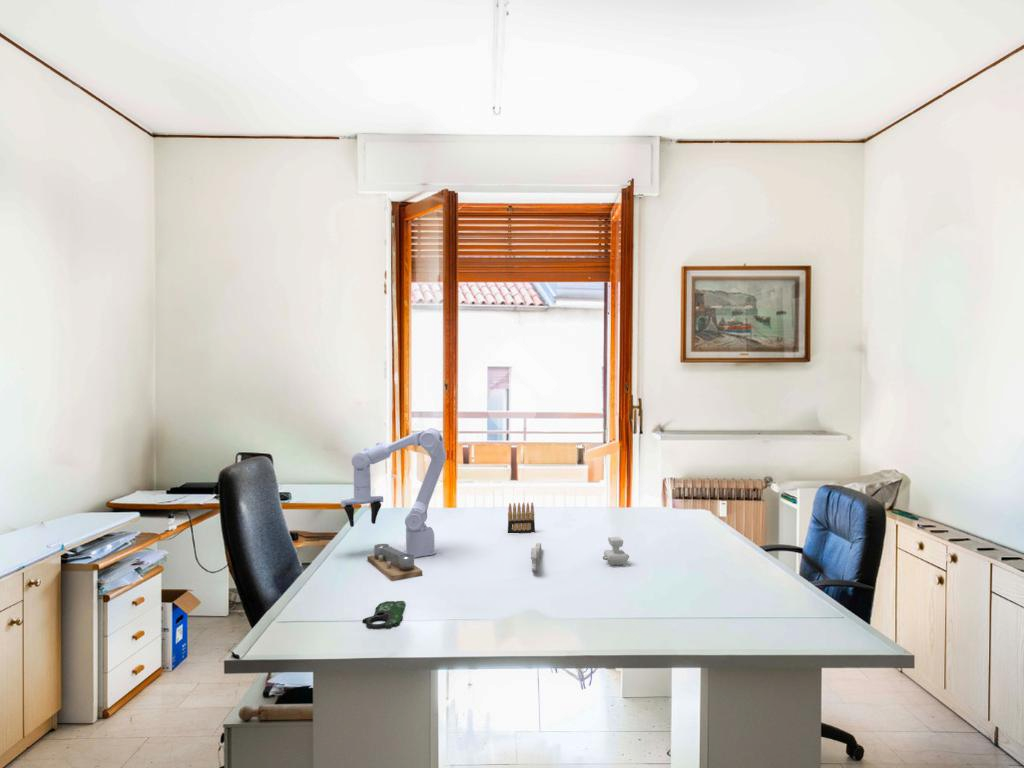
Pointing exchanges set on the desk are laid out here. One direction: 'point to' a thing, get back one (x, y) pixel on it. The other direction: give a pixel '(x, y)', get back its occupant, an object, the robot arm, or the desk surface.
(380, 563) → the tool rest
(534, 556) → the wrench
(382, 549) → the grey elongated piece
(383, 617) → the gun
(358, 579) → the desk surface
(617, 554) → the stamp
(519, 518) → the ammunition clip
